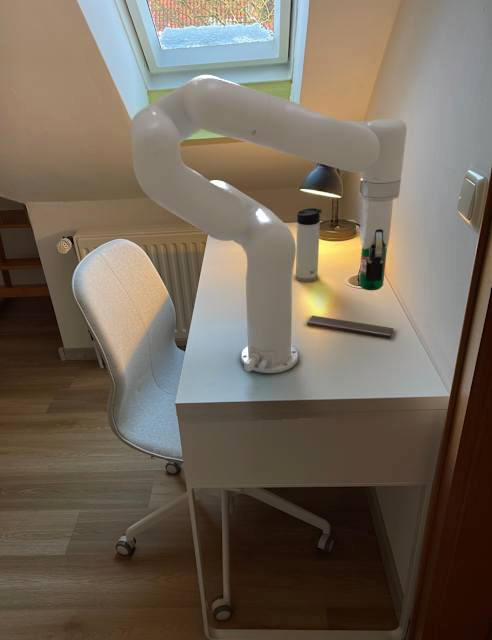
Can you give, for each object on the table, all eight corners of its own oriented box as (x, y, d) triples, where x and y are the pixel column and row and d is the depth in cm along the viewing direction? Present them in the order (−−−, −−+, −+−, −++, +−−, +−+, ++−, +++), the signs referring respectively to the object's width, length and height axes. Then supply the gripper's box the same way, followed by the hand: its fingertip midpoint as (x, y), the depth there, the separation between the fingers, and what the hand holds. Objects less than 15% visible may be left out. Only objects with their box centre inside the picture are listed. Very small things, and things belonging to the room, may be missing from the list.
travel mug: (317, 282, 156) (320, 213, 146) (294, 281, 157) (296, 212, 147) (319, 273, 161) (322, 206, 151) (296, 273, 163) (298, 206, 152)
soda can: (354, 288, 117) (359, 234, 111) (364, 280, 121) (369, 227, 114) (377, 293, 115) (383, 238, 108) (386, 284, 118) (392, 230, 112)
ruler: (390, 338, 127) (390, 335, 126) (307, 325, 135) (307, 322, 134) (393, 331, 130) (393, 327, 129) (312, 318, 138) (312, 315, 137)
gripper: (356, 178, 114) (350, 259, 124) (364, 200, 100) (356, 291, 110) (393, 177, 113) (384, 259, 123) (406, 200, 99) (395, 291, 109)
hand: (371, 273), depth 116 cm, fingers closed on soda can, 5 cm apart
